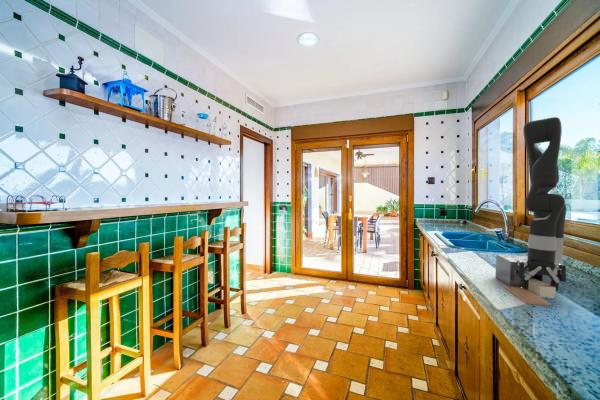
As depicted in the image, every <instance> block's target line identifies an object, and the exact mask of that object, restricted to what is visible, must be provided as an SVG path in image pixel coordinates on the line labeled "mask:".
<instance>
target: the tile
mask: <svg viewBox="0 0 600 400" xmlns="http://www.w3.org/2000/svg"><path fill="white" fill-rule="evenodd" d="M504 289H506V290H508V291H509V293H511V294H513V295H514V296H515V297H517V298H518V299H519V300H520V301H522V302H524V303H525V304H530V305H539V306H549V307H551V306H552V303H550V302H549V301H547V300H546V299H544V297H540V296H538V295H536V294H535V293H533V292H532V291H530V290H529V289H528V290H525V289H524V288H521V287H510V286H508V285H505V286H504Z"/></svg>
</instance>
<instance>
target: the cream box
mask: <svg viewBox="0 0 600 400" xmlns="http://www.w3.org/2000/svg"><path fill="white" fill-rule="evenodd" d="M528 280H529V287H528V289H529V290H530V291H532V292H533V293H535V294H536V295H538V296H540V297H541V298H545V297H548V299H550V298H551V299H555V298H556V293H557V292H556V288H555V287H553V286H551V285H548V284H546V283H544V282H541V281H539V280H537V279H535V278H532V277H530V278H529V279H528ZM521 282H522V278H521ZM521 287H522V286H521V285H520V288H521ZM522 288H523V287H522Z"/></svg>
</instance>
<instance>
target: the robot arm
mask: <svg viewBox="0 0 600 400" xmlns="http://www.w3.org/2000/svg"><path fill="white" fill-rule="evenodd" d="M522 129H523V138H524V143H525V148H526V149H525V150H526V153H527V154H526V155H527V158H528V170H529V172H528V173H529V180H530V189H529V191H528V194H527V195H526V197H525V200H524V207H525V209H526V210H527V211H529V212H530V213H533V214H532V215H533V217H534V218H532V219H531V220H530V222H529V236H528V240H527V241H528V242H527V244H528V245H527V255H526V256H527V257H528V260H527V262H521V261H517V265H516V273H515V275H516V276H518V277H520V278H522V282H521V286H522V287H523V288H524V289H525V290H528V287H529V280H528V279H529V278H530V277H531V276H534V275H535V274H536V275H548V276H549V277H550V279H551V280H552V281H551V283H550V285H551V286H553V287H555V288H556V293H557V292H558V290H559V286H560V285H559V284H560V283H561V282H564V283H565V282H566V280H567V271H566V270H567V267H566V265H564V264H563V255H564V254H563V253H564V251H563V250H564V236H565V222H566V214H567V206H566V204H565V203H566V199H565V198H564V197H563V195H562V194H560V193H549V192H551V191H552V190H553V189H555V188H557V185H558V183H559V181H560V172H559V165H558V160H559V156H560V155H559V154H560V150H561V149H560V148H561V142H562V141H561V140H562V134H563V133H562V132H563V131H562V122H561V119H560V118H559V117H557V116H553V117H547V118H542V119H537V120H531V121H529V122H526V123H524V125H523V128H522ZM541 143H548V146H547V147H546V148H545V150H544V152H543V151H542V150H541V148H539V146H538V144H541ZM526 265H527V267H528V268H527V269H526V270H525V272H524V273H523V270H524V267H525V266H526ZM553 270H554V273H553ZM530 271H531V272H530Z"/></svg>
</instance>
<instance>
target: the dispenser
mask: <svg viewBox="0 0 600 400" xmlns="http://www.w3.org/2000/svg"><path fill="white" fill-rule="evenodd" d="M495 258H496V262H495V278H496V279H498V280H499V281H500V282H502V283H504V284H505V286H510V287H520V285H521V278H520V277H518V276H516V275H515V273H516V265H517V261H521V262H527V260H528V257H527V255H514V254H513V255H512V254H499V253H497V254H496V257H495ZM527 268H528V267H527V265H526V266H525V267H524V270H523V273H524V272H525V270H526V269H527ZM530 272H531V271H530ZM553 273H554V270H553ZM531 277H532V278H535V279H537V280H539V281H541V282H544V283H546V284H548V285H550V283H551V281H552V280H551V279H550V277H549V276H548V275H536V274H535V275H534V276H531ZM520 288H521V287H520Z"/></svg>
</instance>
